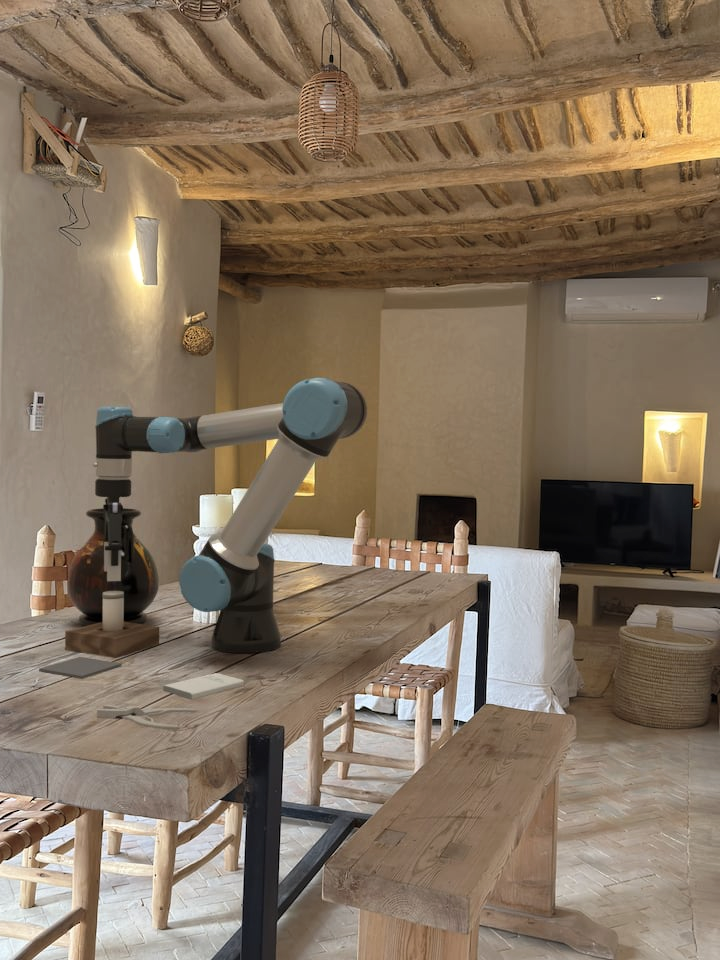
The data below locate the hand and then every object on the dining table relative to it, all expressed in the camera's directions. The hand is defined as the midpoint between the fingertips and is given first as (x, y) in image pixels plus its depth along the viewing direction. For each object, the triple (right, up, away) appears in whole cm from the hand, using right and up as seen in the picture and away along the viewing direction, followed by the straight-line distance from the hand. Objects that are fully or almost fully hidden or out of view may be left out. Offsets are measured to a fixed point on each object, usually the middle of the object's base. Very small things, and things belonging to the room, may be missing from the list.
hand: (112, 576), depth 197 cm
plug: (0, -16, +1) cm, 16 cm away
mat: (-1, -16, -18) cm, 24 cm away
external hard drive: (+25, -18, -30) cm, 43 cm away
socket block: (0, -16, +1) cm, 16 cm away
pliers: (+18, -19, -48) cm, 54 cm away
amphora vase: (-6, -15, +24) cm, 29 cm away
